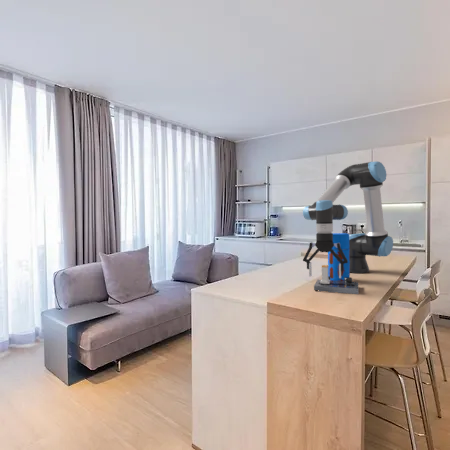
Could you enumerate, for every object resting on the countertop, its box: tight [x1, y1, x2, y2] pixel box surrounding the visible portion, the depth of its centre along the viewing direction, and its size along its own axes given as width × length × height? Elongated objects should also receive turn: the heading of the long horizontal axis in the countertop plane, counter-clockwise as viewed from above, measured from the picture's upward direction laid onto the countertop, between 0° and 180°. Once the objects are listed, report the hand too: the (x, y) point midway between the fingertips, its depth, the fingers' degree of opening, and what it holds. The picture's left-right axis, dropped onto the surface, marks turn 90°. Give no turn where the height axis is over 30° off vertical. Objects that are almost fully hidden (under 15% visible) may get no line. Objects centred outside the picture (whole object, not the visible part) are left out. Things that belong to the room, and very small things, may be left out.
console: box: [313, 276, 359, 295], centre depth 144 cm, size 14×19×4 cm
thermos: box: [327, 232, 351, 281], centre depth 162 cm, size 11×11×25 cm
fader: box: [320, 264, 330, 284], centre depth 145 cm, size 5×4×8 cm
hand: (324, 276), depth 145 cm, fingers open, 13 cm apart
